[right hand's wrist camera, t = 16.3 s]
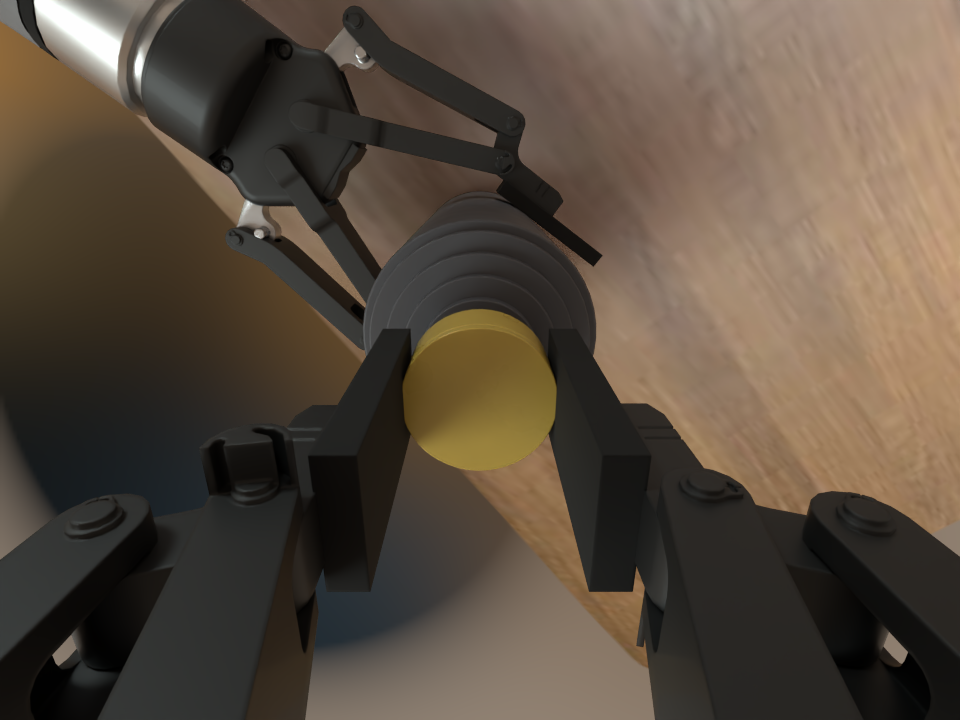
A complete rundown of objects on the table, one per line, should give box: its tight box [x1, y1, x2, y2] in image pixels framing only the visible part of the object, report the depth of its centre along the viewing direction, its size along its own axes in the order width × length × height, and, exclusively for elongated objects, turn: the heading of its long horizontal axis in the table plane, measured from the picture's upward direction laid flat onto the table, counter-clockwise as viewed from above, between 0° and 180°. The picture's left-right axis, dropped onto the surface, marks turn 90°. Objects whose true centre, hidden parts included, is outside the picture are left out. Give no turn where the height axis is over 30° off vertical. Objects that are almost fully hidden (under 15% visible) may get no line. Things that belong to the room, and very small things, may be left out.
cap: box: [403, 309, 557, 470], centre depth 13 cm, size 4×4×2 cm
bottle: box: [363, 191, 596, 357], centre depth 24 cm, size 8×8×24 cm
